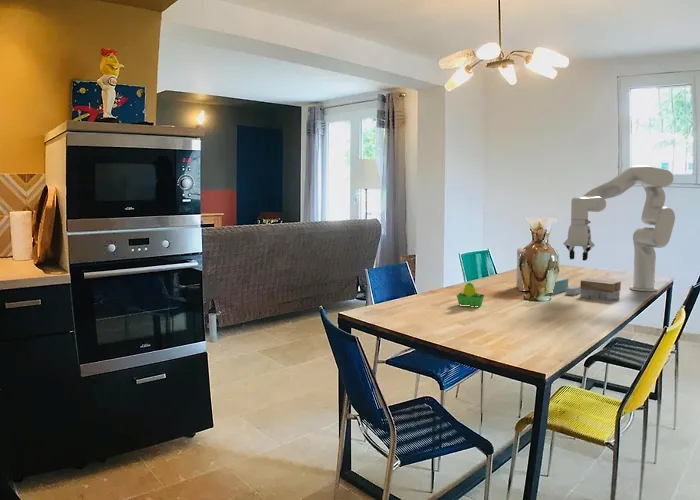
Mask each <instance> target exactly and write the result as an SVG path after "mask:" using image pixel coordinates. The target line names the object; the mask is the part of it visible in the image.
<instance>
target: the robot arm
mask: <svg viewBox="0 0 700 500" xmlns="http://www.w3.org/2000/svg"><path fill="white" fill-rule="evenodd" d="M673 182H674V174H673V172H672V171H670V170H669V169H665V168H660V167H655V166H650V165H633V166H632V165H631V166H629V167H627V168H626V169H624V170H623V171H621V172H620V173H619V174H617V175H616V176H615V177H613V178H612V179H611V180H608V181H607V182H605V183H603V184H601V185H598V186H596V187H595V188H592V189H590V190H589V191H587V192H586V193H585V194H583V195H581V197H580V196H579V197H578V196H577V197H572V199H571V202H570V203H571V204H570V205H571V206H570V207H571V209H570V212H571V213H570V225H569V227H568V232H567V239H566V240H565V241H564V242H563V245H564V246H565V247H566V249H567V250H568V252H569V259H570V260H575V255H576V253H575V247H582V250H583V252H582V261H587V260H588V257H589V255H588V254H589V251H591V250H592V249H593V248H594V247H595V243H594V242H593V241H592V233H591V226H590V225H589V224H591V220H589V213H600V212H602V211H604V210H605V209H606V207H607V201H606V200H608V199H611V198H617V197H618V196H621V195H622V194H624V193H626V192H627V191H628V190H629V189H631V188H632V187H633V186H635V185H636V184H640V186H642V188H643V189H644V192H645V196H646V197H645V202H644V205H643V209H642V212H641V216H640V217H641V222H642V223H643V224H645V225H649V226H654V227H648V226H647V227H646V226H644V227H639V228H636V230H635V231H634V232H633V235H632V242H633V249H634V257H633V277H632V278H633V283H632V285H629V290H633V291H637V292H657V291H658V290H659V289H658V287H657V286H655V284H656V280H655V279H656V257H657V256H656V250H655V248H656V249H663V248H665V247H666V246H667V245H668V244H669V242H670V239H671V237H672V232H673V229H674V225H675V221H676V215H675V212H674V210H673V209H672V208H671V207H670V206H669V207H668V206H665V203H666V193H665V191H664V188H667V187H669V186H671V185H672V183H673Z"/></svg>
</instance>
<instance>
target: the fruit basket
mask: <svg viewBox="0 0 700 500" xmlns="http://www.w3.org/2000/svg"><path fill="white" fill-rule="evenodd" d="M476 291H477V288H476V287H475V286H474V284H473V283H472V282H468V283H465V285H464V288H463V292H459V293H458V294H457V295H456V298H457V302H458V305H459V304H461V305H470V306H478V307H479V308H480V307H482V305H483V302H484V301H483V300H484V298H485V294H481V293H478V292H476Z"/></svg>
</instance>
